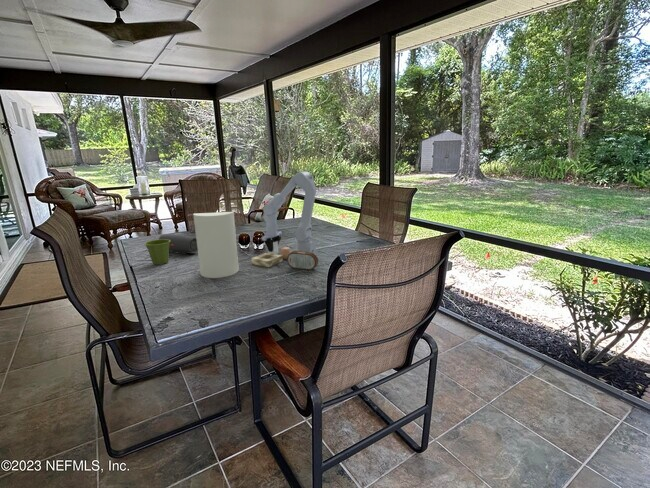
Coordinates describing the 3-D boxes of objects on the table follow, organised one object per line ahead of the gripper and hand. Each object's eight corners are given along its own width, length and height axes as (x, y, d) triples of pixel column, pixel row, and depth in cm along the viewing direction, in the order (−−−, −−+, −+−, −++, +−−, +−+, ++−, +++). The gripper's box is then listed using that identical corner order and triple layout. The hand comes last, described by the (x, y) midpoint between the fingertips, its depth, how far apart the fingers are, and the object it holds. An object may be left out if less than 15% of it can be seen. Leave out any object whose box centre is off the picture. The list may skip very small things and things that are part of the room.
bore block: (282, 261, 171) (282, 255, 170) (268, 267, 162) (268, 261, 161) (266, 257, 176) (266, 252, 176) (251, 263, 167) (251, 258, 167)
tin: (318, 269, 158) (318, 252, 156) (316, 271, 156) (315, 254, 153) (289, 266, 163) (288, 249, 161) (286, 268, 160) (285, 251, 158)
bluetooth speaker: (158, 252, 189) (155, 235, 187) (171, 248, 198) (168, 232, 195) (189, 256, 181) (187, 239, 178) (201, 252, 189) (199, 235, 187)
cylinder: (237, 276, 151) (231, 215, 143) (197, 279, 148) (189, 216, 141) (240, 264, 167) (235, 208, 160) (204, 266, 164) (197, 210, 157)
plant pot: (178, 261, 174) (175, 240, 171) (159, 268, 164) (155, 245, 161) (162, 258, 179) (159, 238, 176) (142, 265, 169) (138, 243, 166)
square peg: (278, 253, 184) (277, 241, 182) (273, 255, 181) (273, 242, 179) (272, 252, 186) (272, 240, 184) (268, 254, 183) (267, 241, 181)
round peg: (292, 257, 178) (291, 248, 176) (286, 259, 173) (285, 250, 172) (284, 255, 180) (284, 246, 179) (278, 258, 176) (278, 249, 175)
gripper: (274, 223, 187) (276, 246, 191) (256, 228, 175) (258, 252, 179) (284, 224, 184) (285, 248, 187) (267, 229, 172) (268, 254, 175)
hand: (273, 250), depth 183 cm, fingers closed on square peg, 4 cm apart
